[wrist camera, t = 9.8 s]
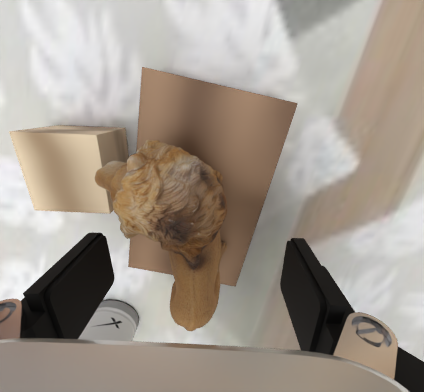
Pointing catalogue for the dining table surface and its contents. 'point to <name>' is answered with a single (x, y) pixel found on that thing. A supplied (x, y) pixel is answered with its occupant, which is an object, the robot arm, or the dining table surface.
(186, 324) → the lion figurine
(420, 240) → the dining table surface
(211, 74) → the dining table surface
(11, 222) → the dining table surface
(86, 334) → the travel mug
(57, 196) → the oak block
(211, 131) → the walnut block
